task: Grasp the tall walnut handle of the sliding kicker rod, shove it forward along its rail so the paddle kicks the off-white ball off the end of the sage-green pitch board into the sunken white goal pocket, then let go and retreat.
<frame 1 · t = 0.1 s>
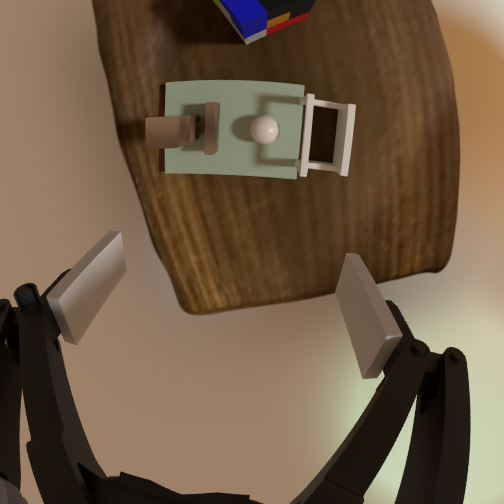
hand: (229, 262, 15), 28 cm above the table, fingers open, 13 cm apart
ball: (265, 129, 34), point 3 cm above the table, touching pitch
pitch: (254, 127, 37), on the table
kicker: (186, 129, 31), point 7 cm above the table, slide at 0.0 cm
puzzle toy: (258, 7, 28), on the table
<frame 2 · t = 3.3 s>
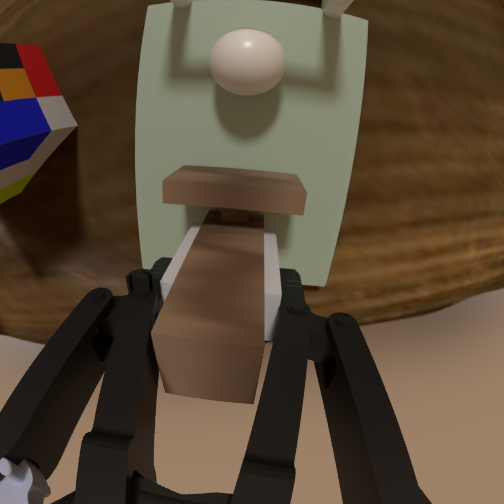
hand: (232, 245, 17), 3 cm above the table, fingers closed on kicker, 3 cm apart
ball: (247, 61, 12), point 3 cm above the table, touching pitch
pitch: (248, 92, 15), on the table
kicker: (225, 259, 13), point 7 cm above the table, slide at 0.0 cm, touching gripper
puzzle toy: (26, 120, 16), on the table
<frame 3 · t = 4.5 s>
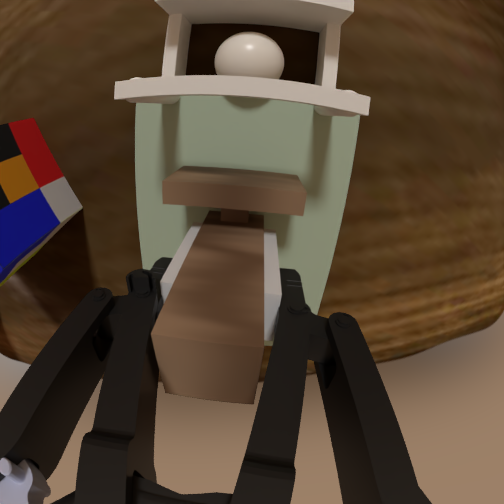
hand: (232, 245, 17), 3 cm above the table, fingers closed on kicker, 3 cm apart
ball: (249, 62, 13), point 2 cm above the table, tilted 148°
pitch: (239, 191, 19), on the table
kicker: (225, 259, 13), point 7 cm above the table, slide at 6.9 cm, touching gripper
puzzle toy: (31, 191, 19), on the table
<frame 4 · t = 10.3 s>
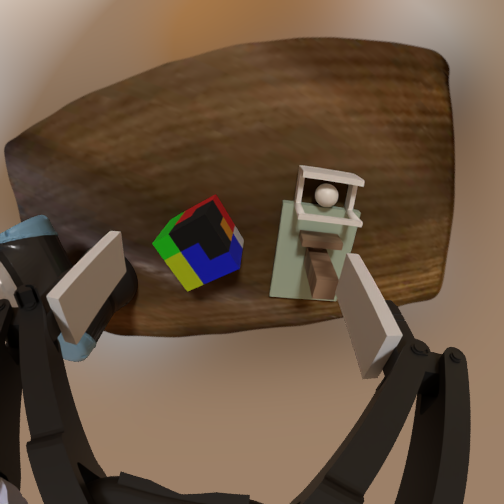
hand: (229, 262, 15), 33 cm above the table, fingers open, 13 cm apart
ball: (326, 195, 44), point 2 cm above the table, tilted 134°
pitch: (315, 237, 50), on the table
kicker: (321, 263, 44), point 7 cm above the table, slide at 6.9 cm
puzzle toy: (207, 229, 51), on the table
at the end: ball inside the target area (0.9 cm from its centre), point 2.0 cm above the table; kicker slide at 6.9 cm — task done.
